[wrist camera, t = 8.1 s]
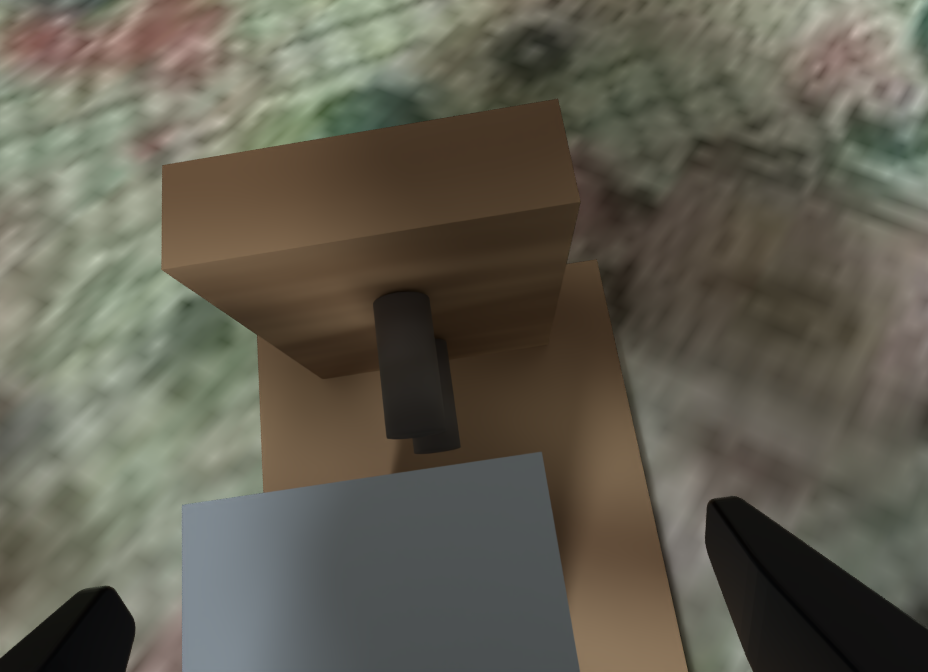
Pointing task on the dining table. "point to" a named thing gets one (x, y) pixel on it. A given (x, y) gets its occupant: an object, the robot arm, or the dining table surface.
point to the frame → (436, 334)
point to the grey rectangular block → (380, 575)
